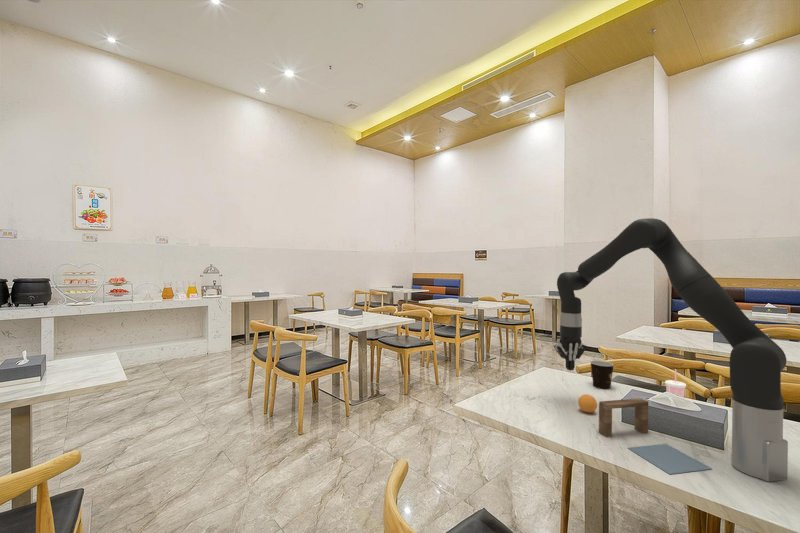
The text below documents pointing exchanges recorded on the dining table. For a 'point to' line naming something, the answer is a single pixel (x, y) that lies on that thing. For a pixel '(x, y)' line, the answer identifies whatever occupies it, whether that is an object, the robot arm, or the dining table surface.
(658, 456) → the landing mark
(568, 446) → the dining table surface
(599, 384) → the coffee mug
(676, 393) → the beverage cup
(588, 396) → the ball
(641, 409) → the bridge
